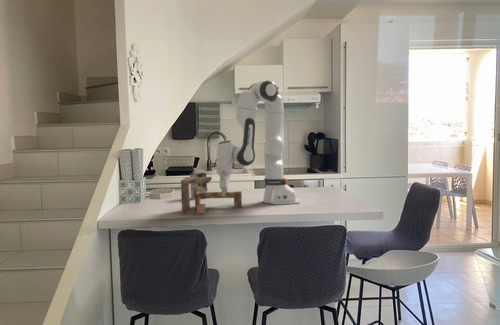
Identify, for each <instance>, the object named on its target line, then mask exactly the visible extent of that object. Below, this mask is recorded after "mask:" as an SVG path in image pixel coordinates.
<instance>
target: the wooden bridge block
mask: <svg viewBox="0 0 500 325" xmlns="http://www.w3.org/2000/svg"><path fill="white" fill-rule="evenodd" d="M242 192H243V191H227V192H226V194H225V196H222V191H213V192H212V191H209V192H208V191H207V192H200V191H198V192H197V193H196V194H195V199H194V205H195V206H194V207H195V210H197V205H198V204H202V203H201V199H200V198H203V199H233V209H242V207H243V201H242V199H243V198H242V197H243V194H242Z"/></svg>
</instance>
